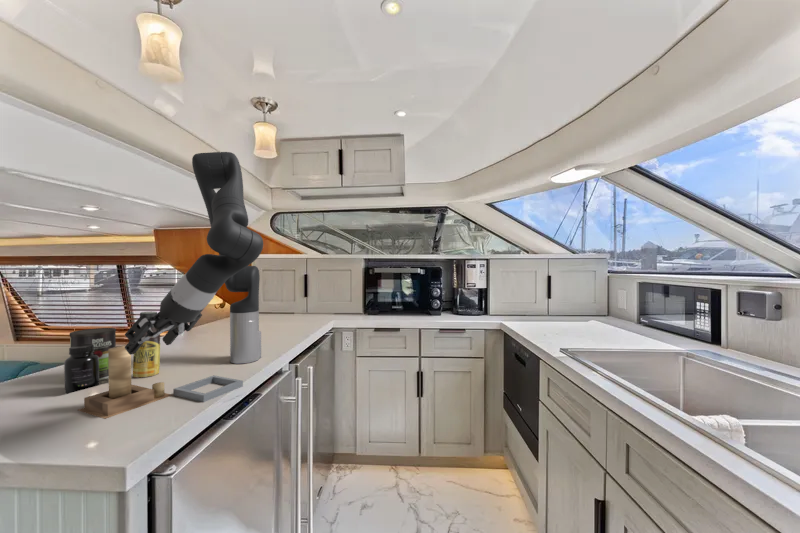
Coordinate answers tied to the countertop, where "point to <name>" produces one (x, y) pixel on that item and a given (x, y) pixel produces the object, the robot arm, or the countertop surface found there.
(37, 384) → the countertop surface
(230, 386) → the tray
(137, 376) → the sauce bottle
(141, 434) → the countertop surface
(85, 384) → the supplement bottle
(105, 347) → the coffee can
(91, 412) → the wooden slotted base
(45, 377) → the countertop surface
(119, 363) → the dowel
